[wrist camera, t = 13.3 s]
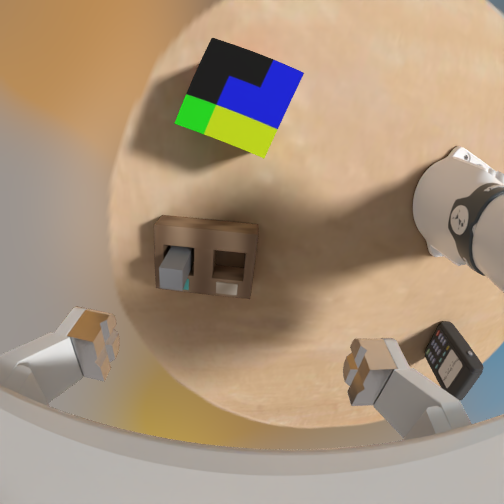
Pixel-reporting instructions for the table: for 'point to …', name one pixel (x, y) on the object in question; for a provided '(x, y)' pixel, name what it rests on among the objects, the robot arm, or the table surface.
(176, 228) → the socket block
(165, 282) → the plug
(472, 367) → the card reader
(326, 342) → the table surface
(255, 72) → the puzzle toy
